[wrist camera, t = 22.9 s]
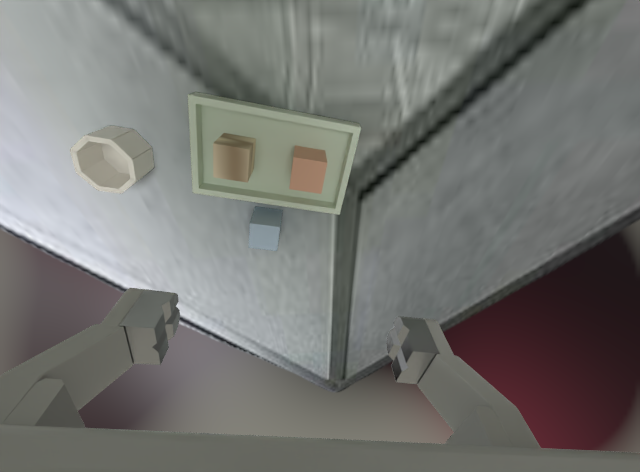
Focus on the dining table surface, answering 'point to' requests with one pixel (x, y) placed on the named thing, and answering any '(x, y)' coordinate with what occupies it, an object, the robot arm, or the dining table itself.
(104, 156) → the cup
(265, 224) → the blue block
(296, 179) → the terracotta block
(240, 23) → the dining table surface
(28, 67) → the dining table surface
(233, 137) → the birch block
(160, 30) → the dining table surface
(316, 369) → the dining table surface
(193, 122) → the tray
